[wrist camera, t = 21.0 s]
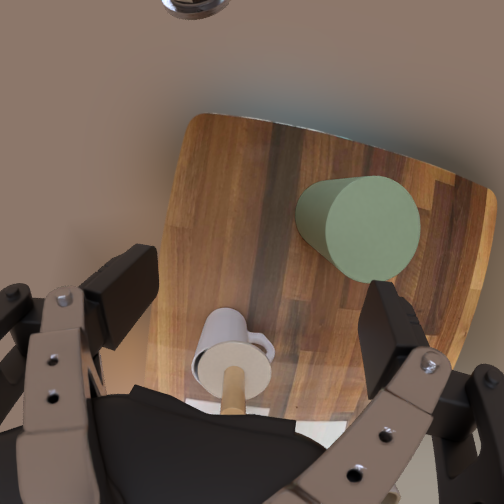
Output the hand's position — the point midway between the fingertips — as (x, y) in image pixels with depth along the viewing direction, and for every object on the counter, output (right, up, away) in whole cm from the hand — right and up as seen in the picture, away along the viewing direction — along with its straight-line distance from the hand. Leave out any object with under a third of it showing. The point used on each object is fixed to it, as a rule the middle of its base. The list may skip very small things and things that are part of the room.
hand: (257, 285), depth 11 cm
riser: (+11, +6, +31) cm, 33 cm away
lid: (-2, -12, +22) cm, 25 cm away
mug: (-3, -10, +34) cm, 35 cm away
